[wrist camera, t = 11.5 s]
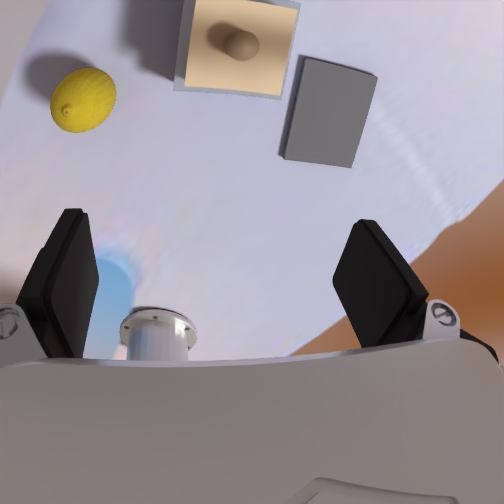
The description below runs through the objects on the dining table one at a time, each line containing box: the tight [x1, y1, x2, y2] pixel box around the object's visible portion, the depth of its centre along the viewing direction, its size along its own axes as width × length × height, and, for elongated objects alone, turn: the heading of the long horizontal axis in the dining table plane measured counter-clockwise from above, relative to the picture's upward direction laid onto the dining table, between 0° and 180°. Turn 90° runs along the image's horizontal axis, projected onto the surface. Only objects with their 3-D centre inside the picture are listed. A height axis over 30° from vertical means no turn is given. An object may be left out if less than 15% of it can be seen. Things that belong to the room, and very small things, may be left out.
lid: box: [185, 0, 298, 96], centre depth 19 cm, size 7×7×4 cm
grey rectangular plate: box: [283, 58, 378, 168], centre depth 30 cm, size 11×8×1 cm
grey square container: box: [173, 0, 301, 100], centre depth 22 cm, size 9×9×4 cm
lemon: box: [50, 68, 116, 133], centre depth 21 cm, size 6×6×8 cm
